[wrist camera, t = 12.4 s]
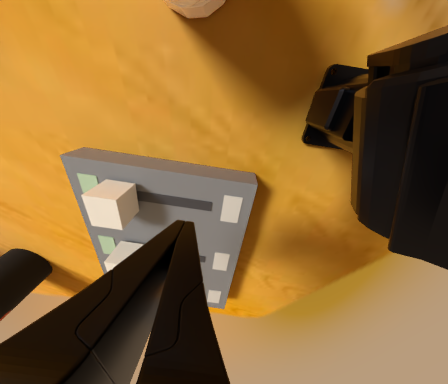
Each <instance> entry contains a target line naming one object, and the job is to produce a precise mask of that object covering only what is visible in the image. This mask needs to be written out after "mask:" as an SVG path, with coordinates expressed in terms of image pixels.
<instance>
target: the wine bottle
mask: <svg viewBox="0 0 448 384" xmlns="http://www.w3.org/2000/svg"><path fill="white" fill-rule="evenodd" d="M51 272H52V267H51V265H50V264H49V263H48V262H47V261H46V260H45V259H44V258H42V257H41V256H39V255H37V254H35V253H33V252H31V251H27V250H24V249H11V250H10V251H8V252H7V253H5V254H4V255H2V256H1V257H0V321H1V320H2V319H3V318H4V317H5V316H6V315H7V314H8V313H9V312H10V311H11V310H13V309H14V308H15V307H16V306H17V305H18V304H19V303H20V302H21V301H22V300H23V299H24V298H25V297H26V296H27V295H28V294H29V293H30V292H32V291H33V290H34V289H35V288H36V287H37V286H38V285H39V284H40V283H41V282H42V281H43V280H44V279H45V278H46V277H47V276H48V275H49V274H50V273H51Z"/></svg>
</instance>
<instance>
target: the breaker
mask: <svg viewBox="0 0 448 384" xmlns="http://www.w3.org/2000/svg"><path fill="white" fill-rule="evenodd" d="M81 196H82V199H83V202H84V205H85V208H86V210H87V213H88V216H89V219H90V222H91V225H92V226H98V227H104V228H111V229H118V230H123V229H124V228H125V227H126V226H127V224H128V223H129V222H130V221H131V220H132V219H133V217H134V216H135V215H136V214H137V213H138V212H139V205H138V199H137V192H136V185H135V183H128V182H121V181H115V180H108V179H106V180H104V181H103V182H101V183H100V184H98V185H96V186H95V187H93V188H92V189H90V190H88V191H87V192H85V193H84V194H82V195H81Z"/></svg>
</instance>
